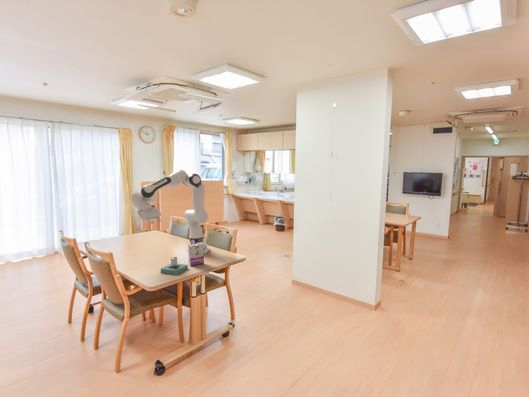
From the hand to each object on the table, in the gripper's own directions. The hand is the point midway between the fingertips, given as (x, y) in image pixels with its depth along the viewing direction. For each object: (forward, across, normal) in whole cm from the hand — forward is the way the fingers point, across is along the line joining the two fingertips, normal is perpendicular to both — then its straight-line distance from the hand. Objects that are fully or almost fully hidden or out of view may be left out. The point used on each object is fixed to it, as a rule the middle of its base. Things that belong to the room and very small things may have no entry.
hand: (156, 222), depth 235 cm
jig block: (+39, -10, +8) cm, 41 cm away
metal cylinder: (+39, -10, +8) cm, 41 cm away
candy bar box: (+45, +8, +3) cm, 46 cm away
